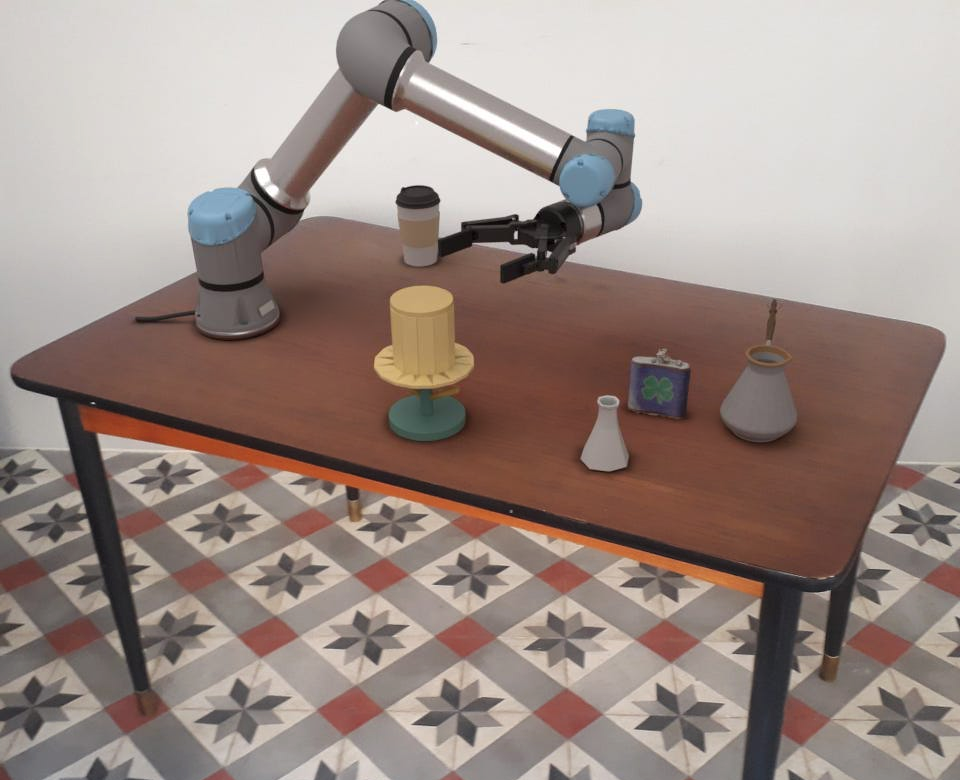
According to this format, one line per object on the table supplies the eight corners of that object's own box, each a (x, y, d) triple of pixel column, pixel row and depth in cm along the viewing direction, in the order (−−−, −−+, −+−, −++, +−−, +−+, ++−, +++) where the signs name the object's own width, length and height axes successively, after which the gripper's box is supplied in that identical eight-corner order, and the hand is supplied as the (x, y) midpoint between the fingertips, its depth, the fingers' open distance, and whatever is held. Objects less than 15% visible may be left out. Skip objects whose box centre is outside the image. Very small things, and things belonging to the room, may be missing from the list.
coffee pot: (792, 454, 155) (809, 364, 146) (714, 443, 157) (726, 354, 149) (797, 385, 172) (813, 301, 163) (726, 376, 174) (738, 293, 166)
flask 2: (626, 411, 165) (631, 350, 159) (629, 402, 168) (635, 342, 162) (684, 420, 163) (691, 359, 157) (687, 411, 165) (694, 351, 159)
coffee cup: (445, 251, 220) (442, 181, 211) (439, 269, 212) (436, 197, 204) (402, 250, 221) (398, 180, 212) (395, 268, 213) (391, 196, 205)
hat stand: (376, 432, 161) (366, 314, 150) (408, 396, 170) (401, 281, 159) (447, 447, 158) (443, 327, 146) (477, 409, 167) (475, 293, 155)
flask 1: (576, 447, 157) (579, 389, 151) (624, 444, 158) (628, 386, 152) (584, 474, 151) (587, 415, 145) (633, 471, 152) (638, 412, 146)
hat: (357, 378, 155) (351, 311, 149) (400, 335, 166) (396, 271, 160) (450, 396, 150) (449, 328, 144) (488, 350, 162) (488, 285, 156)
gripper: (624, 268, 163) (529, 310, 151) (511, 226, 178) (416, 261, 166) (628, 222, 158) (530, 261, 146) (511, 182, 173) (414, 215, 161)
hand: (469, 261), depth 156 cm, fingers open, 13 cm apart
